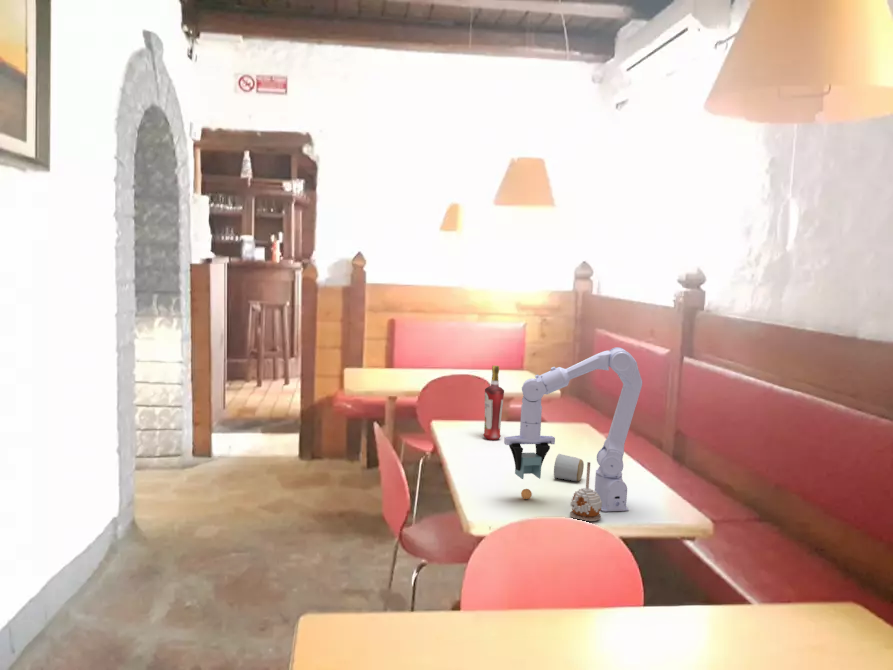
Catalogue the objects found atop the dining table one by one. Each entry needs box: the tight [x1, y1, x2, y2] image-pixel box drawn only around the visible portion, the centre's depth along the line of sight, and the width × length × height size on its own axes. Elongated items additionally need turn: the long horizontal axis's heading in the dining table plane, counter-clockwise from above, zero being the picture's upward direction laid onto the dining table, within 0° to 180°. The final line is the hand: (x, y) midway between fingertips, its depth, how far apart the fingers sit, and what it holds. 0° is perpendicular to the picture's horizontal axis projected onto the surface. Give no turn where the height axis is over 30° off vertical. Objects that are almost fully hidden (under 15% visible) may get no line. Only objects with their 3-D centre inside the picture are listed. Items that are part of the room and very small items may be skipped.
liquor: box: [482, 365, 505, 441], centre depth 285 cm, size 7×7×28 cm
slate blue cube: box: [514, 452, 542, 480], centre depth 211 cm, size 6×6×6 cm
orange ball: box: [520, 488, 533, 500], centre depth 212 cm, size 3×3×3 cm
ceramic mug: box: [553, 453, 585, 482], centre depth 236 cm, size 11×8×8 cm
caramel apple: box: [569, 461, 602, 522], centre depth 198 cm, size 8×8×15 cm
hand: (528, 469), depth 211 cm, fingers closed on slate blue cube, 5 cm apart
